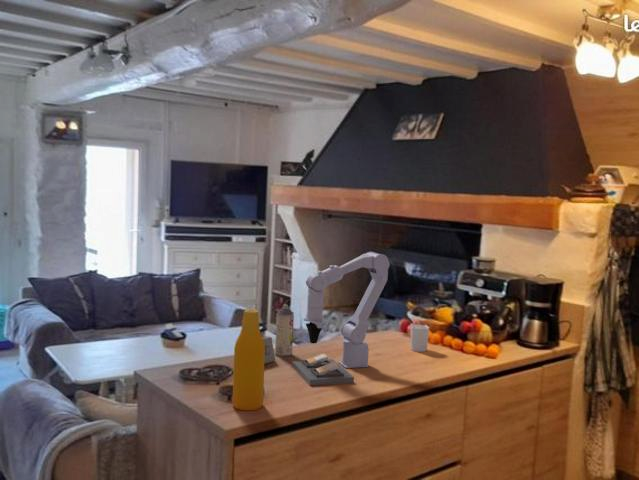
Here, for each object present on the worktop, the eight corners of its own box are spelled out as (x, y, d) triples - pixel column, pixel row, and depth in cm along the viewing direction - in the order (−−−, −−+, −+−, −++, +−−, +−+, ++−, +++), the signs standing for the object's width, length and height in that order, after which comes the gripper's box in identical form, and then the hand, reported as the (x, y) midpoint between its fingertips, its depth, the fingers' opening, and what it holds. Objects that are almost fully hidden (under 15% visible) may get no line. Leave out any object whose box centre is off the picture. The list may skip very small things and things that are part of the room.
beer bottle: (254, 413, 174) (257, 315, 172) (226, 407, 177) (229, 311, 175) (268, 403, 183) (272, 310, 180) (241, 398, 186) (244, 306, 184)
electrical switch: (258, 366, 220) (257, 341, 220) (248, 364, 223) (247, 340, 223) (275, 361, 227) (274, 337, 227) (265, 359, 230) (265, 336, 230)
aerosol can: (291, 357, 233) (293, 307, 232) (273, 356, 234) (276, 306, 232) (292, 352, 240) (295, 303, 239) (276, 351, 241) (278, 302, 239)
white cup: (429, 352, 250) (430, 329, 249) (410, 351, 250) (412, 328, 249) (426, 347, 258) (427, 325, 257) (408, 346, 258) (409, 324, 257)
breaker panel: (332, 364, 227) (332, 354, 226) (353, 382, 206) (354, 372, 206) (291, 366, 222) (292, 356, 221) (309, 385, 201) (310, 374, 200)
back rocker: (325, 357, 222) (323, 353, 221) (328, 360, 218) (327, 356, 217) (307, 363, 220) (306, 359, 219) (311, 367, 216) (309, 362, 216)
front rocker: (335, 365, 211) (333, 361, 211) (339, 369, 207) (337, 364, 207) (317, 373, 209) (315, 368, 209) (320, 376, 205) (319, 372, 205)
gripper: (299, 303, 225) (297, 338, 226) (310, 311, 211) (308, 348, 212) (316, 302, 227) (315, 337, 228) (329, 310, 213) (327, 347, 214)
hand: (313, 342), depth 220 cm, fingers closed
